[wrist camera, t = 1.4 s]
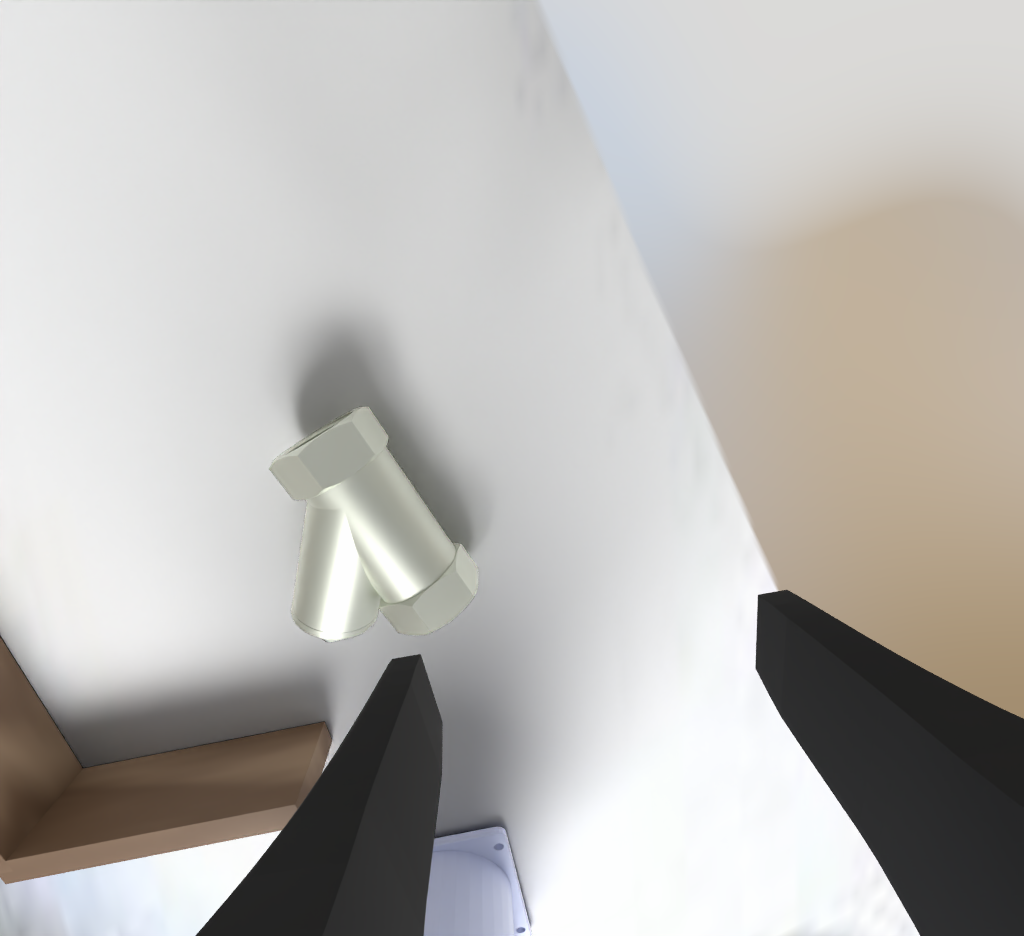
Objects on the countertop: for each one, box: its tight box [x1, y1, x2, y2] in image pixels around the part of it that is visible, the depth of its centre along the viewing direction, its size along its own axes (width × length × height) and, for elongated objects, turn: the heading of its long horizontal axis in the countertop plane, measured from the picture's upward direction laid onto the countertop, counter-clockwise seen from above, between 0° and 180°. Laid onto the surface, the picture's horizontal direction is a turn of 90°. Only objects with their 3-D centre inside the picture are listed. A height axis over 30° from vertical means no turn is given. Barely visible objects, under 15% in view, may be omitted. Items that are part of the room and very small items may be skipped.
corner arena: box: [0, 637, 332, 884], centre depth 19 cm, size 16×13×4 cm
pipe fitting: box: [269, 407, 478, 642], centre depth 18 cm, size 8×4×7 cm
